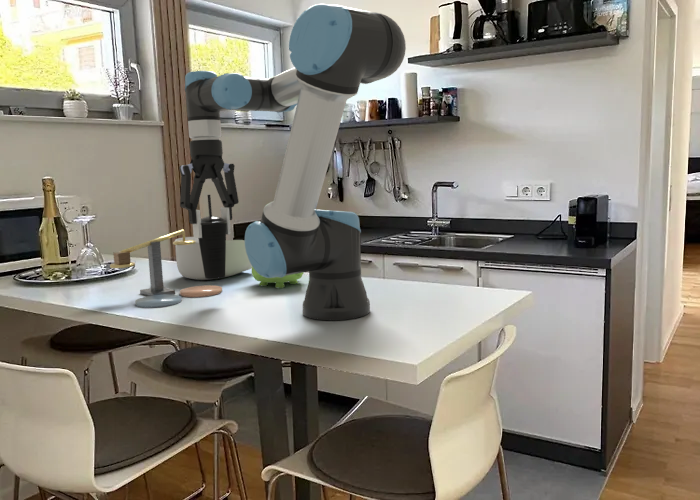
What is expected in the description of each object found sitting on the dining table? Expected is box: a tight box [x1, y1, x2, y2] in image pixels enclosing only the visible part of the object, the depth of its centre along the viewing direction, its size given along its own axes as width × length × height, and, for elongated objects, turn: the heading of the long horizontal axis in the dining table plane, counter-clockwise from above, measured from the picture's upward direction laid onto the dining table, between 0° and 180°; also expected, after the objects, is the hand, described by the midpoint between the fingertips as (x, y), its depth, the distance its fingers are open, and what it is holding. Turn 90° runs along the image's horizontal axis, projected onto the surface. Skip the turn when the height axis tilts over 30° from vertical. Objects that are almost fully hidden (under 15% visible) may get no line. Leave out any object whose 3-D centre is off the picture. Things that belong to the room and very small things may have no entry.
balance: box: [109, 228, 196, 297], centre depth 165 cm, size 8×24×16 cm, turn 133°
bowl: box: [174, 236, 252, 281], centre depth 189 cm, size 20×19×12 cm
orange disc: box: [179, 284, 223, 298], centre depth 166 cm, size 11×11×1 cm
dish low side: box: [135, 294, 183, 309], centre depth 156 cm, size 11×11×1 cm
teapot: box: [251, 267, 305, 289], centre depth 174 cm, size 16×14×13 cm
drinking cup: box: [198, 194, 227, 280], centre depth 151 cm, size 8×8×20 cm
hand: (212, 235), depth 151 cm, fingers closed on drinking cup, 7 cm apart
